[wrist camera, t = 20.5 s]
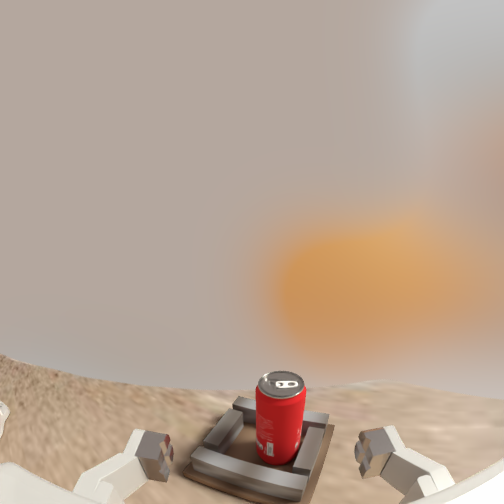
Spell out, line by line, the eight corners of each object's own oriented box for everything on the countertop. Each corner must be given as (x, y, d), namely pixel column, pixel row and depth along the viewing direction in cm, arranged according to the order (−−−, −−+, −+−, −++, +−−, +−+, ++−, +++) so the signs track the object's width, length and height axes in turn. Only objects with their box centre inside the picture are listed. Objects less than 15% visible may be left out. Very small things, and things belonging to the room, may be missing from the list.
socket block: (184, 475, 26) (178, 458, 25) (236, 409, 40) (235, 390, 39) (305, 513, 20) (309, 498, 19) (333, 429, 34) (337, 410, 33)
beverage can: (256, 439, 32) (255, 369, 30) (296, 438, 32) (303, 368, 29) (256, 468, 27) (255, 399, 24) (299, 466, 27) (310, 397, 24)
